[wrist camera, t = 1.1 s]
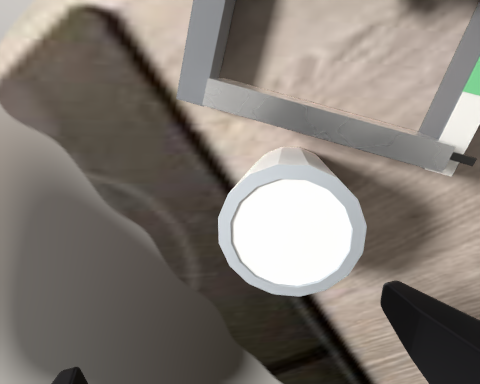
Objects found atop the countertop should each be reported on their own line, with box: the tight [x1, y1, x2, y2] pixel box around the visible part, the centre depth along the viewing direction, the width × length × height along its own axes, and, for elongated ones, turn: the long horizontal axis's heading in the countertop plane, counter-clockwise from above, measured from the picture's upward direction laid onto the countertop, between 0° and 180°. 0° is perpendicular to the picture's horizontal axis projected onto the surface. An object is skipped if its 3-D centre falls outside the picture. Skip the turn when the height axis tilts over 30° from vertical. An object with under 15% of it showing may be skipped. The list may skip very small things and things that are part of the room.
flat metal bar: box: [202, 78, 476, 173], centre depth 16 cm, size 13×1×4 cm, turn 76°
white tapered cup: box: [218, 147, 367, 296], centre depth 18 cm, size 7×7×7 cm
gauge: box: [176, 0, 480, 177], centre depth 16 cm, size 16×10×5 cm, turn 76°
